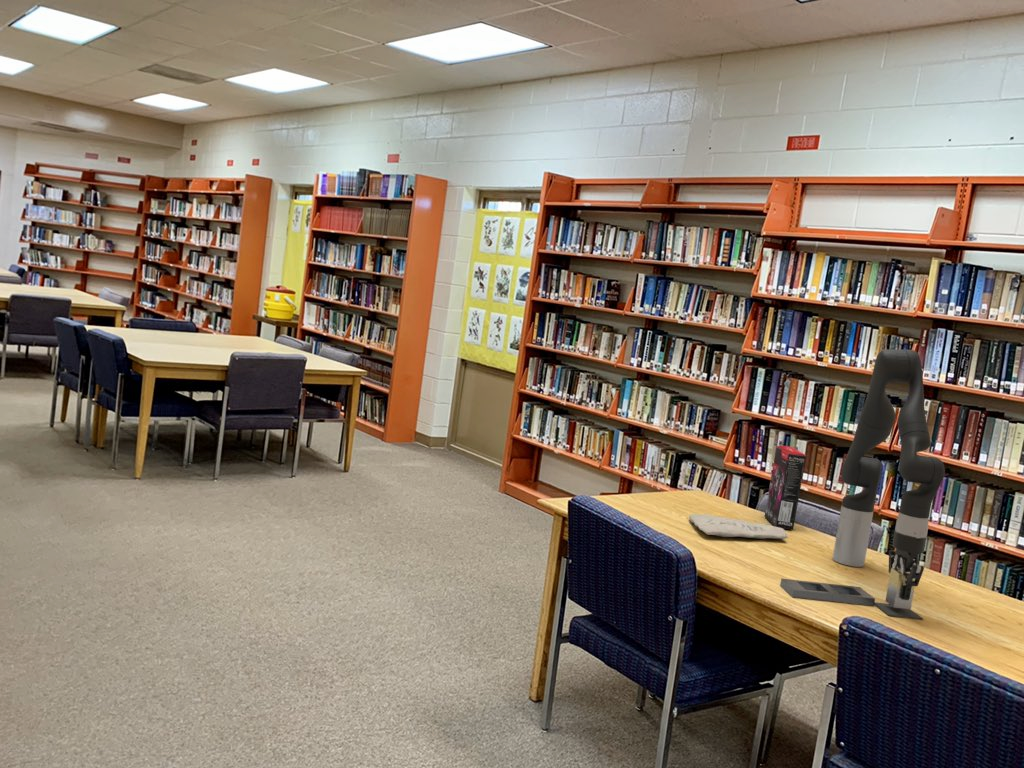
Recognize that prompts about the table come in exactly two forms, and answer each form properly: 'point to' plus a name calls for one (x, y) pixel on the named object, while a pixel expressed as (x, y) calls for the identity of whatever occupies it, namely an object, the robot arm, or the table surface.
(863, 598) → the grey slotted frame
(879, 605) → the mat
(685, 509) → the table surface
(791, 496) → the graphics card box
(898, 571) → the block
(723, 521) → the stone
